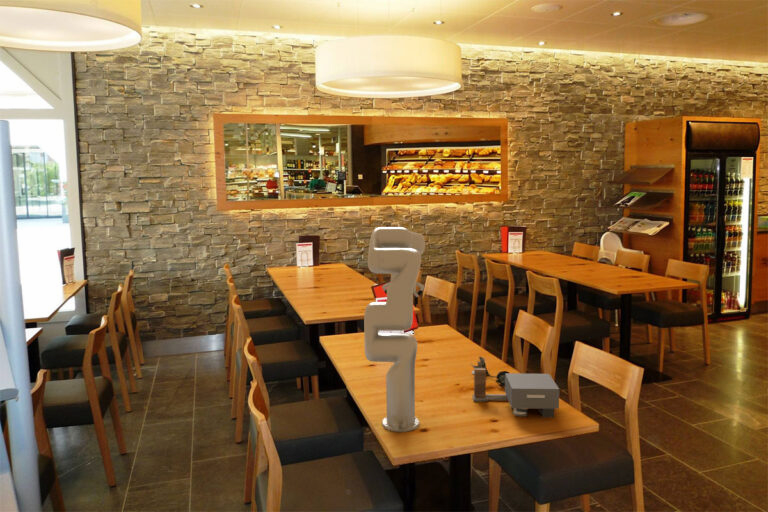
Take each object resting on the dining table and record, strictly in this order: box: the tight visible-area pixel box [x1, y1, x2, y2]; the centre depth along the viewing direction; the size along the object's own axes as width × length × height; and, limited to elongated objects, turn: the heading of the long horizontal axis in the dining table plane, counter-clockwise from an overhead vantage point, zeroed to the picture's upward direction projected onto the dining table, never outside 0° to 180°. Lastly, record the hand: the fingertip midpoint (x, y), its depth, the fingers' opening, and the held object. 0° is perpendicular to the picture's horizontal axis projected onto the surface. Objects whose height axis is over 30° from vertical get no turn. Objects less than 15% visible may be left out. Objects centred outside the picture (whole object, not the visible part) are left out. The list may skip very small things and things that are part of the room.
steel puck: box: [512, 408, 529, 418], centre depth 209 cm, size 5×5×2 cm
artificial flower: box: [470, 356, 510, 388], centre depth 246 cm, size 9×22×10 cm, turn 18°
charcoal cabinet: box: [504, 372, 560, 418], centre depth 211 cm, size 17×16×11 cm
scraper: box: [472, 367, 508, 403], centre depth 222 cm, size 4×20×12 cm, turn 87°
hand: (403, 306), depth 242 cm, fingers open, 9 cm apart
